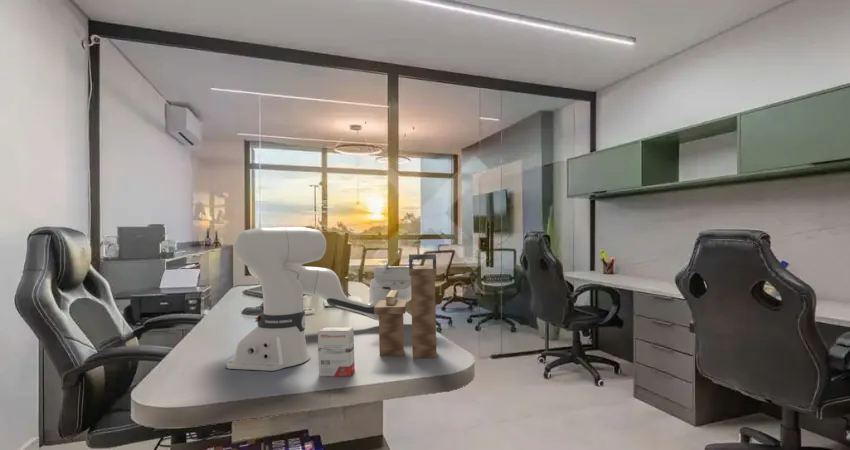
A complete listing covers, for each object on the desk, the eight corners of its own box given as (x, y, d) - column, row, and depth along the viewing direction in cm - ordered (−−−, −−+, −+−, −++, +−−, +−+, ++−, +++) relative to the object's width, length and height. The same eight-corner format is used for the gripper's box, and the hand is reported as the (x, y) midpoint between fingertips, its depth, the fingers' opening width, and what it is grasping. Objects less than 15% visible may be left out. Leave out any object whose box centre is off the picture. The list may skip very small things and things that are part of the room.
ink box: (355, 370, 111) (354, 326, 111) (350, 377, 106) (349, 330, 106) (324, 370, 112) (323, 326, 112) (317, 376, 107) (317, 330, 107)
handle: (386, 304, 125) (386, 296, 125) (390, 297, 140) (390, 290, 140) (394, 304, 125) (393, 296, 125) (397, 297, 140) (397, 290, 140)
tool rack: (375, 358, 121) (373, 255, 121) (379, 346, 134) (378, 253, 134) (438, 357, 121) (436, 254, 121) (437, 345, 134) (435, 252, 134)
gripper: (429, 287, 159) (429, 272, 147) (375, 288, 159) (371, 273, 147) (428, 272, 162) (428, 256, 150) (376, 273, 162) (372, 257, 150)
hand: (399, 264), depth 149 cm, fingers open, 8 cm apart
